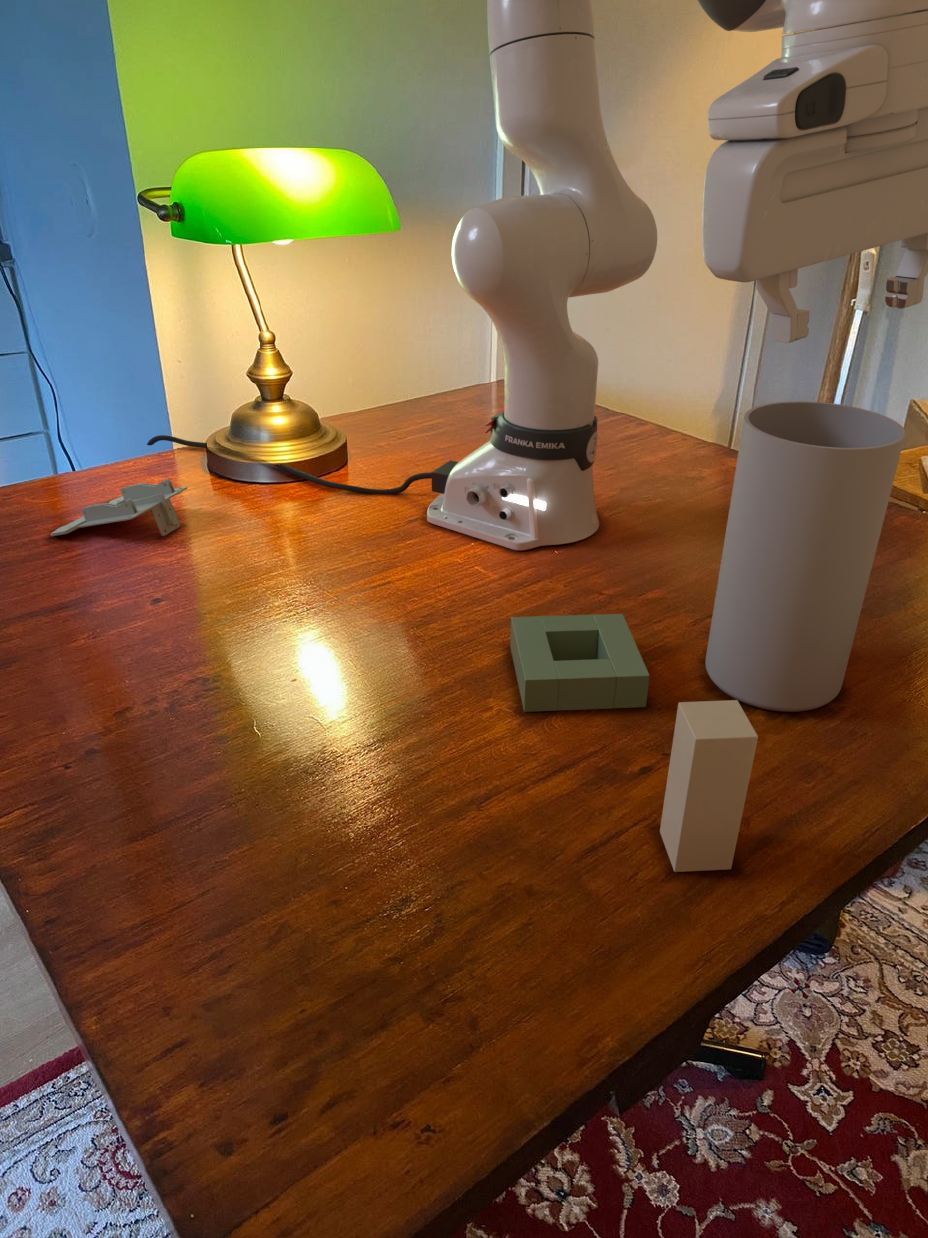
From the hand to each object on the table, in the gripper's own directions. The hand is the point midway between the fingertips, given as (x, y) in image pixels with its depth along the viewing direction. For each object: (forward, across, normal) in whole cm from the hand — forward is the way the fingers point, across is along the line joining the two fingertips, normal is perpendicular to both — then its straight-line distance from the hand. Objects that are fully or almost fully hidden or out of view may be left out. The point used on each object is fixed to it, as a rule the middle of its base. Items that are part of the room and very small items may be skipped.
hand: (847, 322), depth 60 cm
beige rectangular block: (+34, +17, +6) cm, 38 cm away
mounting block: (+33, +14, -18) cm, 40 cm away
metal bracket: (+25, +48, -72) cm, 90 cm away
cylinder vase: (+36, -3, -10) cm, 38 cm away
